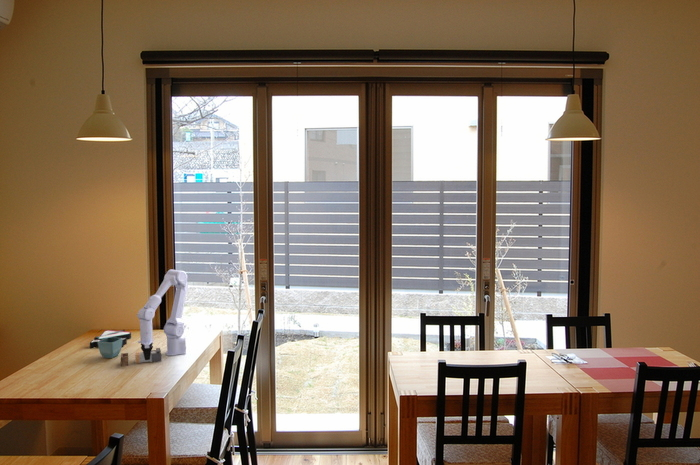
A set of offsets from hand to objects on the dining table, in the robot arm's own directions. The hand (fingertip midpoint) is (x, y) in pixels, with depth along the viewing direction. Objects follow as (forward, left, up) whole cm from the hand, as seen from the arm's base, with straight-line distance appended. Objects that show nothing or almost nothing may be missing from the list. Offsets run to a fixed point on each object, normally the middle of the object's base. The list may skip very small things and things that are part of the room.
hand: (147, 358), depth 266 cm
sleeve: (-4, 0, -1) cm, 4 cm away
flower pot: (+18, -15, -2) cm, 23 cm away
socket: (+10, 0, -1) cm, 11 cm away
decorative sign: (+18, -46, -2) cm, 50 cm away
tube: (0, 0, -1) cm, 1 cm away
